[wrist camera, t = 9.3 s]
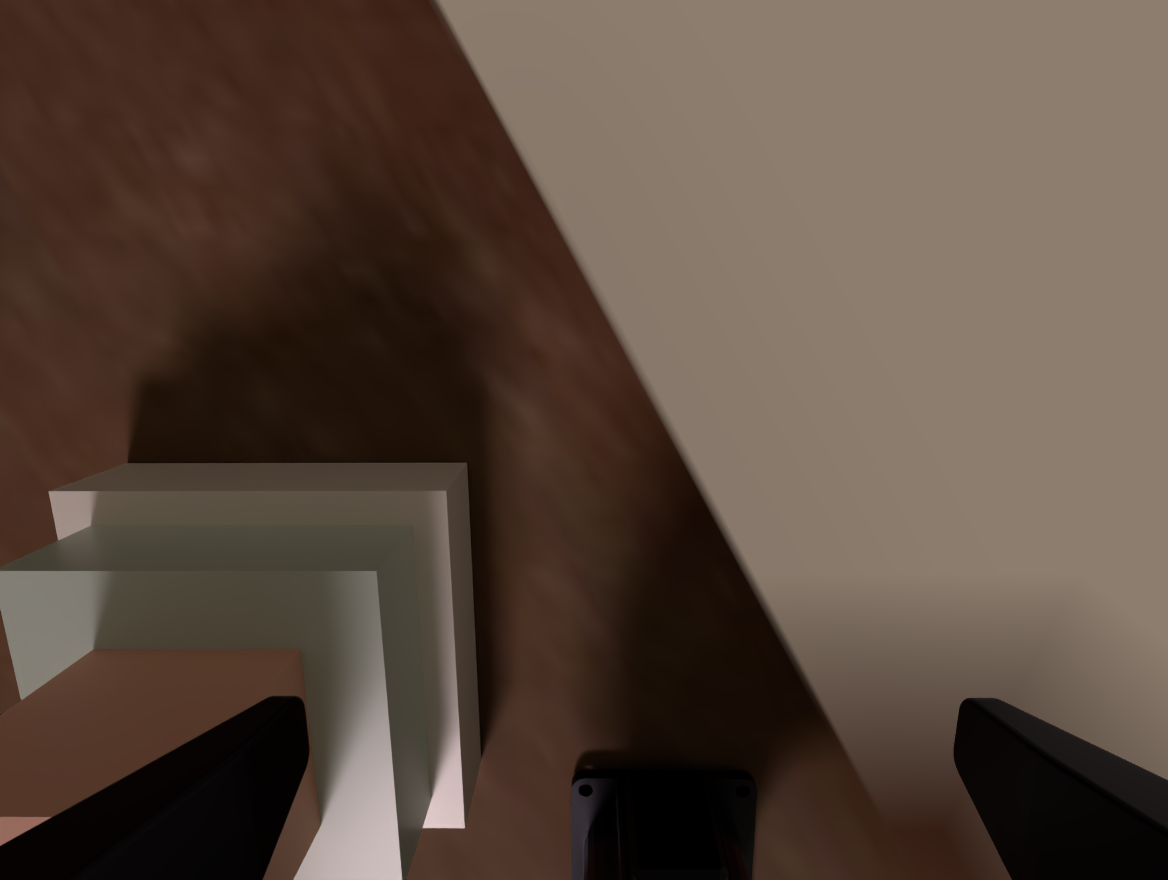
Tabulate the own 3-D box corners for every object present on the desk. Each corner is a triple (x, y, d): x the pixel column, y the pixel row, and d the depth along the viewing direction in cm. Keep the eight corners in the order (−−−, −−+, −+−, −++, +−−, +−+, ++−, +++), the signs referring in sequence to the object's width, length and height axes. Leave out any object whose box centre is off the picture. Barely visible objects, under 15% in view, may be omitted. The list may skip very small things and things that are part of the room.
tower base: (481, 759, 23) (443, 920, 17) (176, 758, 23) (33, 917, 17) (467, 462, 20) (417, 530, 14) (126, 463, 20) (-61, 530, 15)
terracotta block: (320, 825, 16) (205, 1052, 11) (127, 824, 16) (-70, 1050, 11) (300, 649, 15) (162, 817, 10) (93, 649, 15) (-143, 816, 10)
